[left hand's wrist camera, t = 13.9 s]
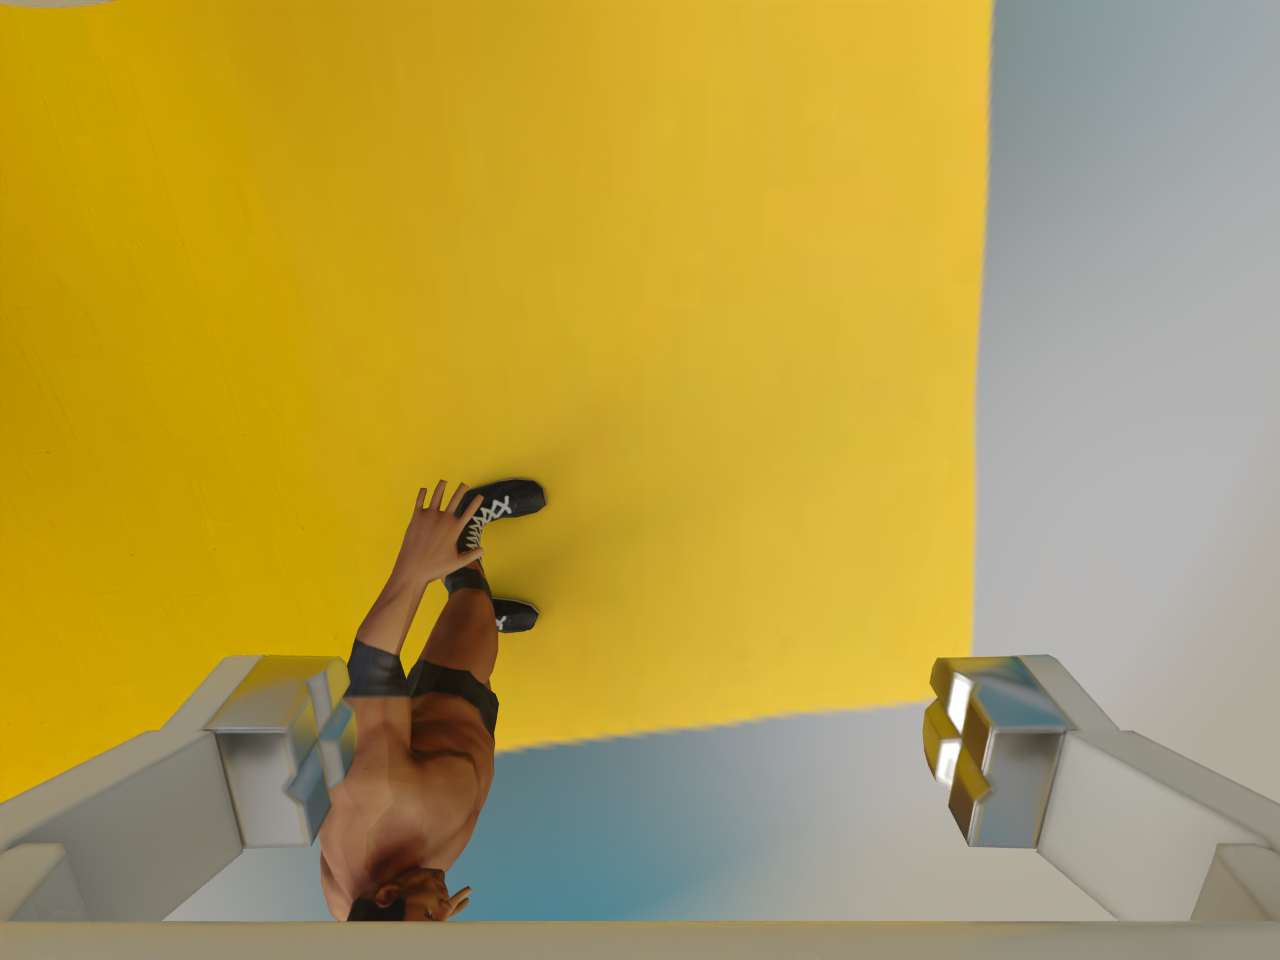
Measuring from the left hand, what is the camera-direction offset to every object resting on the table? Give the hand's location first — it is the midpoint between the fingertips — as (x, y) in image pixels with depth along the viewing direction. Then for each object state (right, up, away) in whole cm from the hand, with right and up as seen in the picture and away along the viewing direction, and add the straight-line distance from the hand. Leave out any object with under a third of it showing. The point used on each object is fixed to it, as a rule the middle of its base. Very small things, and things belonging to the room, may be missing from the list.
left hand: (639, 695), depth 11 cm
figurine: (-10, -2, +42) cm, 43 cm away
